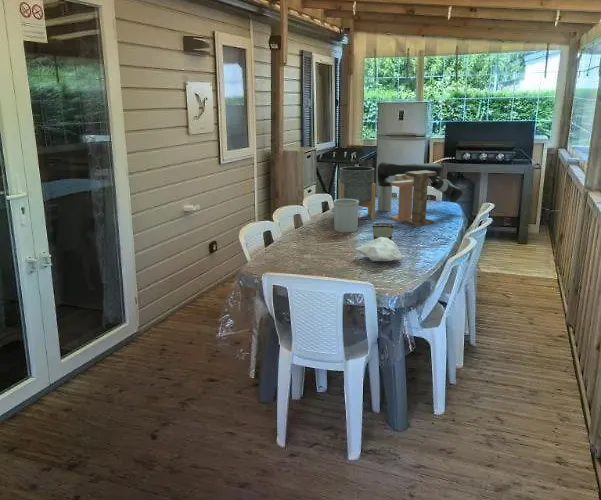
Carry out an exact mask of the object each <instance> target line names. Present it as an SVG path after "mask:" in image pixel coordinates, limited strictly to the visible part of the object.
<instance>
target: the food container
mask: <svg viewBox="0 0 601 500" xmlns="http://www.w3.org/2000/svg"><path fill="white" fill-rule="evenodd" d="M371 229H372V235H373V236H372V237H373V240H374V239H377V238H379V237H384V238H389V239H390V240H392V241H393V233H394V229H396V228H395V225H394V224H393V223H390V222H375V223H373V224H372V225H371Z"/></svg>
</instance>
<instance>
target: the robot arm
mask: <svg viewBox="0 0 601 500" xmlns="http://www.w3.org/2000/svg"><path fill="white" fill-rule="evenodd" d="M423 170H427V171H433V172H437V175H436V176H428V183H430V186H431V187H432V188H434V189H435V190H436V191H438V192H440V193H442V194H443V195H444V196H445V197H446V198H447V199H448V201H449V202H450V203H454V204H455V203H456V202H457V201H458V200H459V199H460V198H461V197H462V195H463V190H462V189H461V188H459V187H458V186H455V185H454V184H453V183H452V182H451V181H450V180H449V179H446V178H444V179H442V178H441V177H440V176H441V174H442V171H443V166H442V164H440V163H435V162H428V163H416V162H415V163H411V162H409V163H403V164H397V163H391V162H388V161H382V162H380V163H379V164H378V166H377V171H376V172H377V173H376V174H377V176H376V177H377V182H378V188H377V189H378V193H377V212H391V211H392V199H393V198H392V195H393V186H392V185H390V182H393V181H392V180H391V179H390V177H395V175H401V174H405V173H406V172H412V171H423Z"/></svg>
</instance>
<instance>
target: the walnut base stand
mask: <svg viewBox="0 0 601 500" xmlns="http://www.w3.org/2000/svg"><path fill="white" fill-rule="evenodd" d="M405 175H406V176H412V177H414V179H413V181H414V185H413V193H412V214H411V215H412V220H406V221H403V222H402V223H403V224H405V225H408V226H411V227H418V226H425V225H434V223H435V221H434V220H431V219H428V218H427V201H428V188H429V187H428V184H429V182H428V176H436V175H437V172H433V171H427V170H423V171H412V172H406V173H405Z"/></svg>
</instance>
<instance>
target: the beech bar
mask: <svg viewBox="0 0 601 500" xmlns="http://www.w3.org/2000/svg"><path fill="white" fill-rule="evenodd" d="M405 180H414V177H412V176H406V175H405V174H401V175H395V176H394V181H405Z"/></svg>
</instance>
